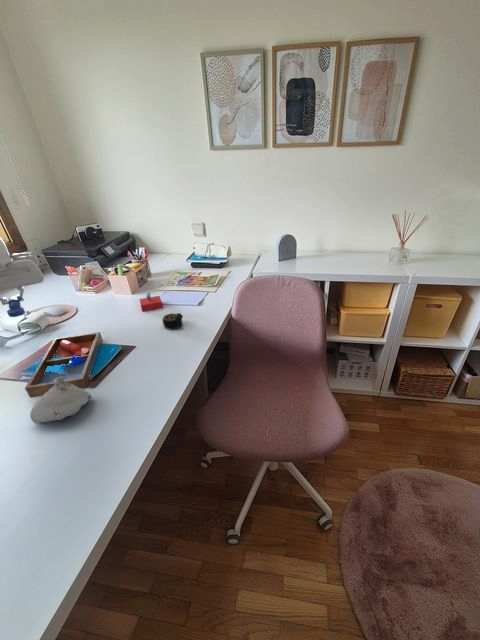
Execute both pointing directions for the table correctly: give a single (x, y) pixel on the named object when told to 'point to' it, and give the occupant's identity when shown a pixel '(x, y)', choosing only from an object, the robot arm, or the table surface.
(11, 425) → the table surface
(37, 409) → the grey clay mound
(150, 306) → the red rectangular block
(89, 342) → the sorting tray
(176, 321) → the tape measure
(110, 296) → the table surface
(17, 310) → the blue elongated piece
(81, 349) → the red spoon
